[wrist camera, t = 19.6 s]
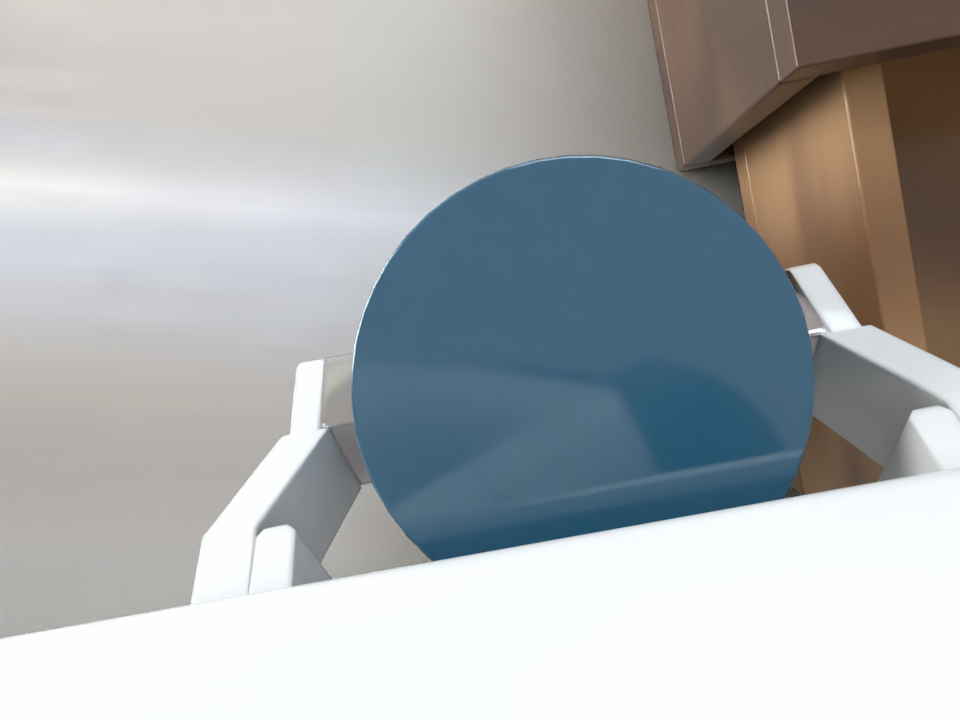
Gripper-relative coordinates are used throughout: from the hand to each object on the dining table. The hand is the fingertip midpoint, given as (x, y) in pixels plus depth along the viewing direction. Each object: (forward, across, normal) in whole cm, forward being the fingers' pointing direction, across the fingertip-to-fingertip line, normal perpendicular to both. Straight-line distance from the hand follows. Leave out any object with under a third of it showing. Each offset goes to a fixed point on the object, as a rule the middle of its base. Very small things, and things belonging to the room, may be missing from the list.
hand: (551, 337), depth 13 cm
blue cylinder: (+6, 0, +6) cm, 9 cm away
